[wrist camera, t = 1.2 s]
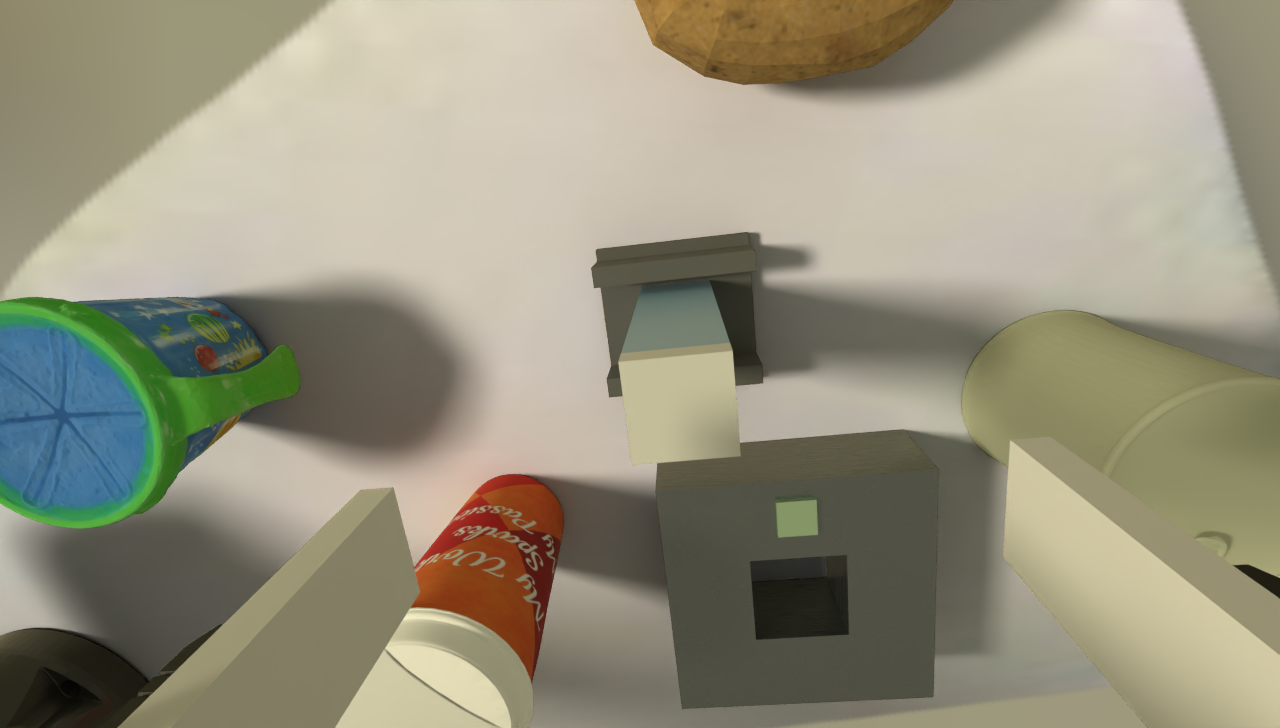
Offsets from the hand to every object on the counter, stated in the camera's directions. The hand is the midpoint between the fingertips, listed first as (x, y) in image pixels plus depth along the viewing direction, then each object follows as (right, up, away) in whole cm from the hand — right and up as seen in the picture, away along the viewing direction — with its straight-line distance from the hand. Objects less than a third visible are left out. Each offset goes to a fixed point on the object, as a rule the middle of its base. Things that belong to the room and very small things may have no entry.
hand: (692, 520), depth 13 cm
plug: (+1, +6, +20) cm, 21 cm away
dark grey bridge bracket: (+1, +6, +20) cm, 21 cm away
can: (+21, +2, +21) cm, 30 cm away
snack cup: (-26, +4, +23) cm, 35 cm away
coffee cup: (-9, -6, +25) cm, 27 cm away
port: (+8, -8, +24) cm, 27 cm away
